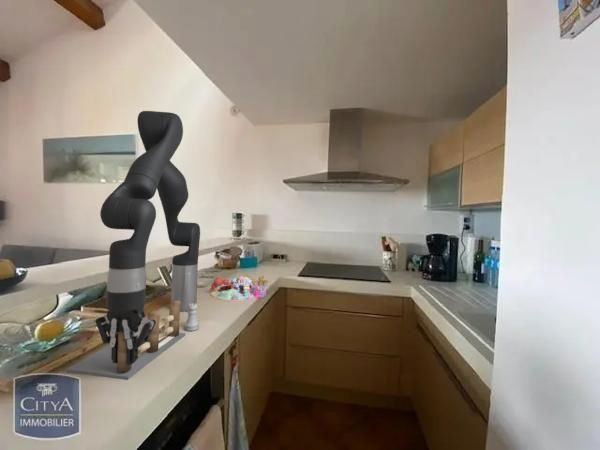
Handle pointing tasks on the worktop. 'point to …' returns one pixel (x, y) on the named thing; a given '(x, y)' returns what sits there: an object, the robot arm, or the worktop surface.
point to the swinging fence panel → (122, 352)
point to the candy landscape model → (239, 288)
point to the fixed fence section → (164, 326)
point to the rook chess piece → (192, 318)
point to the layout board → (105, 367)
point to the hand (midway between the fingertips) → (124, 361)
